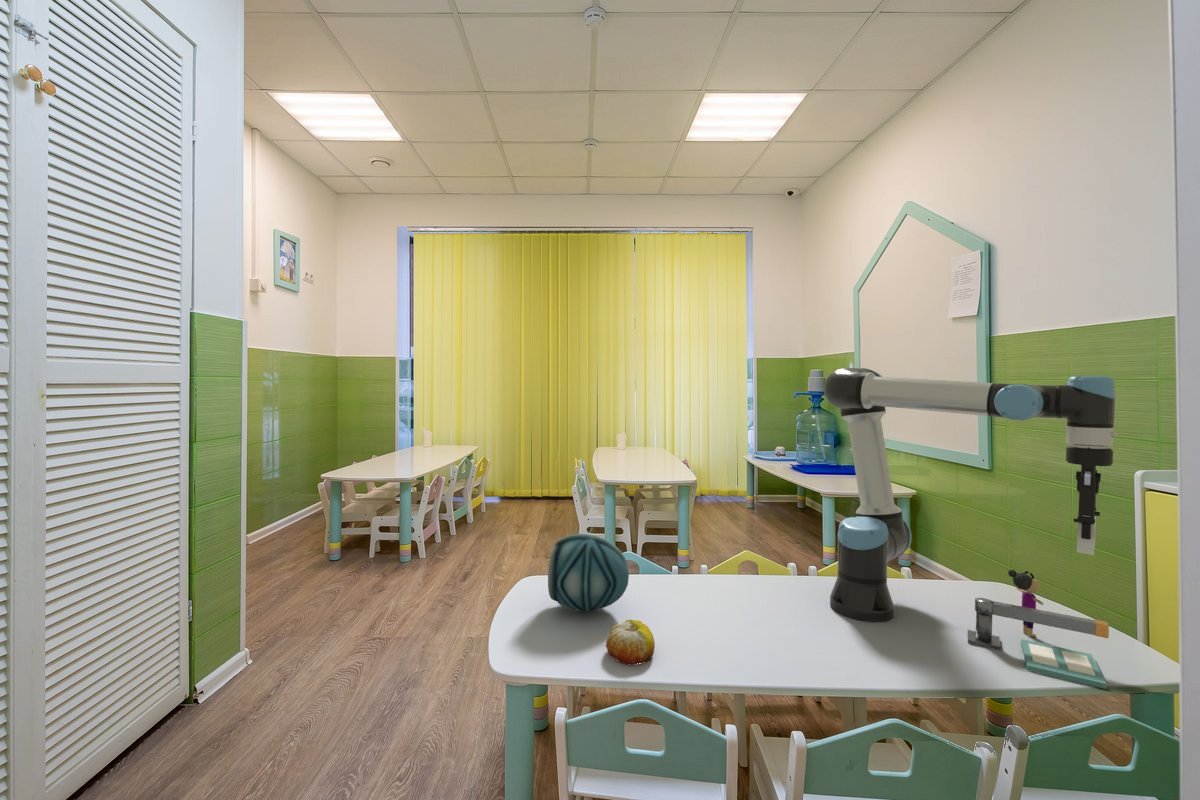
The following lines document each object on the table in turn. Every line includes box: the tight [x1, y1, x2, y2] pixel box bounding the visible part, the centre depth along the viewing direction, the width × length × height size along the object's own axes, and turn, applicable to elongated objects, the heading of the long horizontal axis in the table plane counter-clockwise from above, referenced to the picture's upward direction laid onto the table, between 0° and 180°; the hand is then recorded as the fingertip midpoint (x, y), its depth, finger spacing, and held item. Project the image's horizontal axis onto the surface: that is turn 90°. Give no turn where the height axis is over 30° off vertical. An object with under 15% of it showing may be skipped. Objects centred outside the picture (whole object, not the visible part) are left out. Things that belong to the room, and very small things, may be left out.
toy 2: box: [1007, 569, 1044, 638], centre depth 125 cm, size 10×6×15 cm, turn 168°
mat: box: [1020, 638, 1107, 690], centre depth 111 cm, size 12×14×1 cm
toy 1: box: [547, 533, 630, 613], centre depth 136 cm, size 19×20×20 cm
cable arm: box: [974, 597, 1110, 640], centre depth 115 cm, size 22×4×3 cm, turn 56°
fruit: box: [605, 619, 656, 665], centre depth 114 cm, size 11×10×8 cm
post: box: [967, 611, 1002, 651], centre depth 121 cm, size 6×6×7 cm
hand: (1086, 548), depth 115 cm, fingers open, 9 cm apart
